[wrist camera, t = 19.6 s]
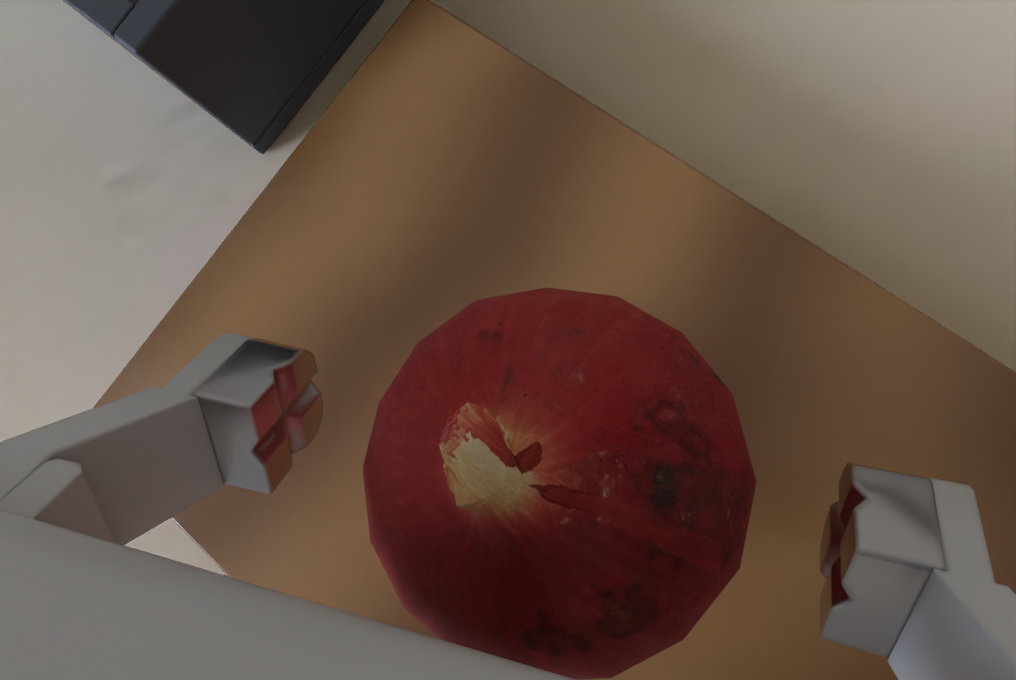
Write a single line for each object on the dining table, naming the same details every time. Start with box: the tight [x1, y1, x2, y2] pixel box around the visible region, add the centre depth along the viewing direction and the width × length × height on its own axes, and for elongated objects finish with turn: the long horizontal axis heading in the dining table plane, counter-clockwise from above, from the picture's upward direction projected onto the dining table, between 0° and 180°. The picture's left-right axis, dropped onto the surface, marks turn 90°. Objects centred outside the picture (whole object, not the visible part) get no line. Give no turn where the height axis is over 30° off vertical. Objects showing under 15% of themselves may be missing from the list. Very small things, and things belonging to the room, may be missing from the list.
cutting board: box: [93, 0, 1016, 680], centre depth 16 cm, size 20×13×2 cm, turn 51°
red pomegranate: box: [362, 287, 757, 680], centre depth 12 cm, size 6×6×8 cm
